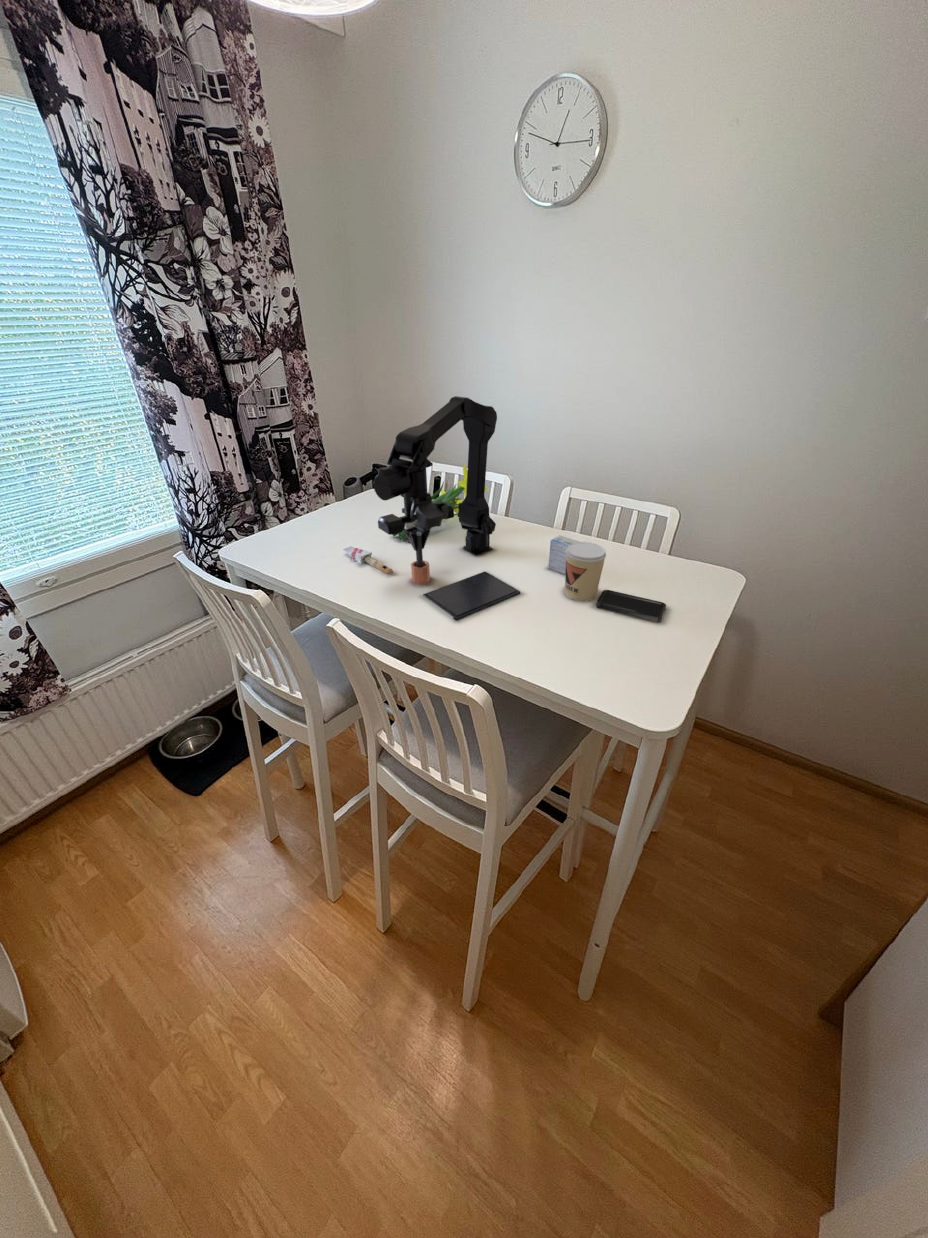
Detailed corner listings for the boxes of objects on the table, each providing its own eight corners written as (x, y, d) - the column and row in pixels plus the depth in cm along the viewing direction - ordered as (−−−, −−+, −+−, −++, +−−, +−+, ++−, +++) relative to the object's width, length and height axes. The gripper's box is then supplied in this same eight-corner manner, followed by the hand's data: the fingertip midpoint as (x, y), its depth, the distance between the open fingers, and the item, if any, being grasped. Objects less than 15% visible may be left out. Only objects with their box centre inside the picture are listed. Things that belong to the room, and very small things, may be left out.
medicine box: (581, 572, 132) (585, 542, 127) (572, 578, 129) (575, 547, 125) (556, 563, 137) (559, 534, 132) (547, 568, 134) (550, 539, 129)
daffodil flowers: (381, 532, 158) (461, 482, 171) (409, 564, 156) (489, 511, 168) (381, 500, 143) (469, 448, 156) (412, 536, 140) (500, 480, 153)
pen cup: (423, 575, 131) (422, 558, 128) (433, 582, 128) (432, 564, 125) (409, 580, 129) (407, 563, 126) (418, 587, 126) (417, 570, 123)
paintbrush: (351, 541, 143) (395, 565, 131) (352, 549, 144) (395, 574, 133) (340, 545, 140) (383, 570, 129) (341, 553, 142) (384, 579, 131)
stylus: (421, 568, 128) (418, 531, 122) (424, 570, 127) (422, 533, 121) (415, 570, 127) (413, 532, 121) (419, 572, 126) (416, 534, 120)
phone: (604, 588, 122) (667, 603, 116) (603, 592, 122) (665, 607, 116) (595, 603, 116) (661, 619, 110) (594, 607, 117) (660, 623, 111)
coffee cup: (554, 588, 125) (558, 545, 118) (584, 581, 128) (591, 538, 121) (575, 606, 117) (581, 561, 111) (607, 597, 121) (614, 553, 114)
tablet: (485, 573, 132) (485, 570, 131) (520, 593, 123) (520, 590, 122) (423, 596, 122) (422, 593, 121) (456, 620, 112) (456, 617, 112)
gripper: (398, 506, 105) (403, 571, 113) (467, 489, 114) (467, 550, 123) (373, 493, 112) (380, 555, 121) (440, 478, 122) (442, 536, 130)
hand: (418, 549), depth 123 cm, fingers closed on stylus, 2 cm apart
